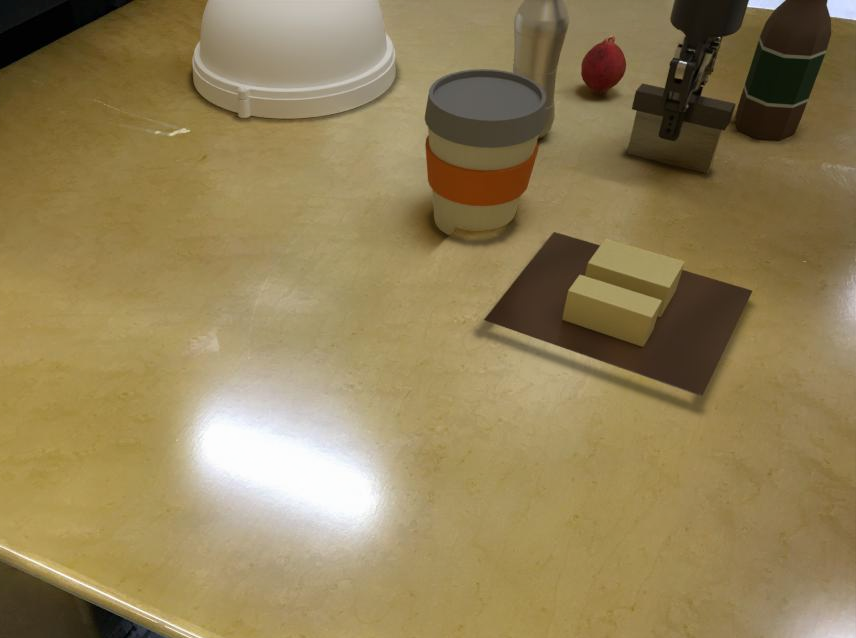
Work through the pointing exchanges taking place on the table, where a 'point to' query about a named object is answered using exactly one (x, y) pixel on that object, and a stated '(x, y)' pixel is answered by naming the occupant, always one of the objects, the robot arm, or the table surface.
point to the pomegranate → (603, 66)
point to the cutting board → (658, 359)
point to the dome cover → (292, 56)
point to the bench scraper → (695, 134)
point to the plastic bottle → (540, 46)
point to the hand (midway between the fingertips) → (676, 126)
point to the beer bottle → (784, 69)
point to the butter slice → (611, 310)
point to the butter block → (636, 270)
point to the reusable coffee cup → (481, 146)
